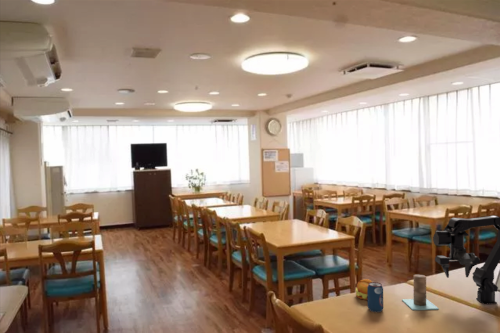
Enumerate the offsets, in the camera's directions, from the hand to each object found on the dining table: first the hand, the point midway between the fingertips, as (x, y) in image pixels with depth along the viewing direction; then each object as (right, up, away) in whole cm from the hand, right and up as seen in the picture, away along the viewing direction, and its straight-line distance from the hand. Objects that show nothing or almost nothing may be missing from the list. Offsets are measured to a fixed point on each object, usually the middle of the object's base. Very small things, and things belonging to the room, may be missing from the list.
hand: (457, 277), depth 188 cm
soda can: (-41, -13, -6) cm, 44 cm away
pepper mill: (-19, -12, -2) cm, 22 cm away
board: (-19, -13, -2) cm, 23 cm away
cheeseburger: (-41, -13, +9) cm, 44 cm away
